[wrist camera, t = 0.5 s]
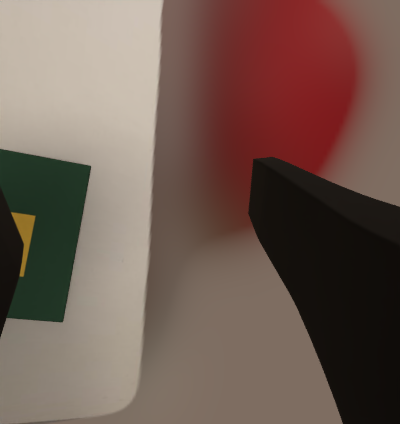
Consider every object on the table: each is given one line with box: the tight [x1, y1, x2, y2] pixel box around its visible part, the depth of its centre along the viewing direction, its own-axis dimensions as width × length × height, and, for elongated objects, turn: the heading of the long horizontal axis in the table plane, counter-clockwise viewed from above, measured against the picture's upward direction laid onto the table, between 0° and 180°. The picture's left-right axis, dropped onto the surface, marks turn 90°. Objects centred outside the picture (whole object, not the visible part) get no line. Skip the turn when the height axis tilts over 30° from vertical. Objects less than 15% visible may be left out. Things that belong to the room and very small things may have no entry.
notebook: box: [0, 149, 91, 322], centre depth 33 cm, size 16×11×1 cm
